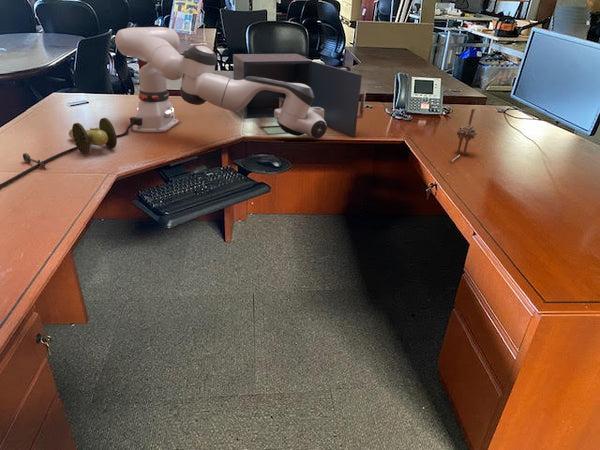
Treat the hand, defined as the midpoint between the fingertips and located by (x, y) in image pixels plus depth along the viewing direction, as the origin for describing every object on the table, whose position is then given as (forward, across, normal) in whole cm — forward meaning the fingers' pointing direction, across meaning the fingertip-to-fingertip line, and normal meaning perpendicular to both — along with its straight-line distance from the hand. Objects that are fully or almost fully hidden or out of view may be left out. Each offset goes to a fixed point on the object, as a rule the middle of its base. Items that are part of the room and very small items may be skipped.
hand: (292, 108), depth 190 cm
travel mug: (+37, +41, -11) cm, 56 cm away
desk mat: (+8, 0, -10) cm, 13 cm away
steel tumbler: (+10, 0, -10) cm, 14 cm away
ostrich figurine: (-44, +55, -10) cm, 71 cm away
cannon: (-1, -81, -11) cm, 82 cm away
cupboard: (+30, 0, -10) cm, 32 cm away
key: (-16, -98, -11) cm, 100 cm away
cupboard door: (+5, +23, -10) cm, 26 cm away
